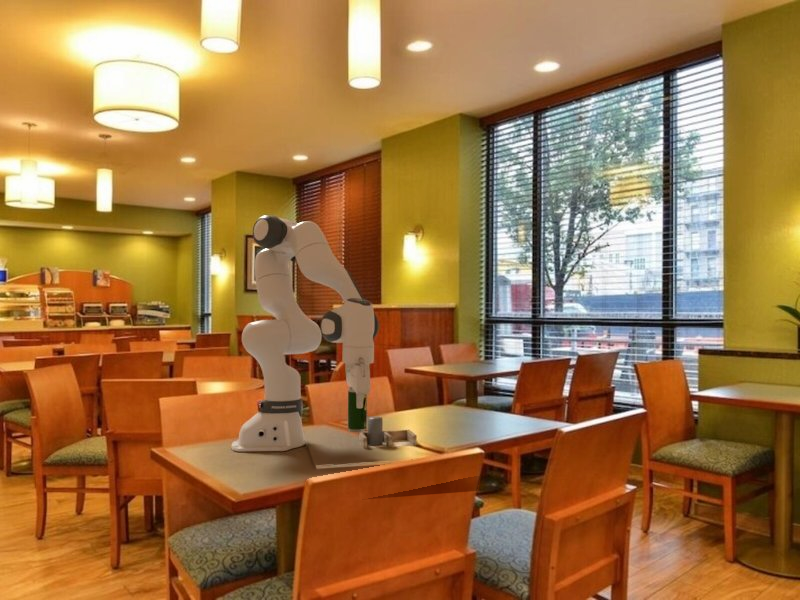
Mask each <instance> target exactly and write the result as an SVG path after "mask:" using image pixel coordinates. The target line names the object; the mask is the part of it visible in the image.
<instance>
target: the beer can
mask: <svg viewBox="0 0 800 600" xmlns="http://www.w3.org/2000/svg"><path fill="white" fill-rule="evenodd" d="M367 418H368V394H364V401H363V408H357V407H356V392H355V391H354V390H353V389H352V388H351V387H350V386H348V390H347V430H348V431H349V432H352V433H359V432H367V431H366V430H367Z"/></svg>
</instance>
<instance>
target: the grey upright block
mask: <svg viewBox="0 0 800 600" xmlns="http://www.w3.org/2000/svg"><path fill="white" fill-rule="evenodd" d="M383 420H384V419H383V417H382V416H369V417H368V416H367V428H366V430H367V431H366V432H367V445H370V446H380V445H382V444H383V431H384V430H383V429H384V428H383V424H384V423H383V422H384V421H383Z"/></svg>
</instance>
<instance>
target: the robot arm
mask: <svg viewBox="0 0 800 600" xmlns="http://www.w3.org/2000/svg"><path fill="white" fill-rule="evenodd" d="M252 238H253V241H254V243H256V245H258V246H259V247H261V248H263V249H262V250H260V251H259V252H258V253H257V254H256V256H255V257H254V258H255V259H254V260H255V261H254V273H255V275H254V277H255V284H256V286H255V287H256V292H257V298H258V303H259V305H260V308H262V309H263V310H264V311H265V312H267V313H269V314H270V315H272V316H273V317H274V318H275V319H260V320H256V321H252V322H248V323H247V324H246V325H245V327H244V328H243V331H242V333H241V343H242V346H243V348H244V349H245V351H246V352H247V353H248V354H249V355H251V356H252V357H253V358H254V359H255V361H256V362H257V363H258V365H259V366H260V369H261V371H262V374H263V383H264V399H257V401H256V405H257V413H255V414H254V415H252V417H250V419H248V420H247V421H245V422H244V423H243V424H242V426H241V427H240V430H239V433H238V439H236V440H234V441H233V442H232V443H231V447H230V448H231V449H232V451H234V452H284V451H285V452H286V451H288V450H292V449H296V448H300V447H303V446H304V445H306V444H307V443H306V438H305V435H304V434H305V433H304V431H303V430H304V427H303V423H302V422H303V421H302V417H303V398H302V397H301V395H302V394H301V393H302V392H301V390H302V388H301V387H302V386H301V385H302V384H301V381H302V380H301V379H302V377H301V374H300V373H299V371H298V370H297V369H295V368H294V367H292V366H291V365H288V364H287V362H286V360H285V355H301V354H302V355H303V354H307V353H310V352H314V351H316V350H318V348H319V347H320V345H321V342H322V337H323V338H324V340H325V341H327V342H329V343H332V344H333V343H334V344H335V343H336V344H339V343H342V356H341V357H342V359H341V360H342V361H341V362H342V363H343V364H344V367H345V368H344V369H345V379H346V384H347V386H348V387H351V388H352V389H353V390H354V391H355V392H356V407H357V408H363V401H364V394H367V395H369V394H370V392H371V371H370V364H374V363H375V342H374V339H375V338H376V337H377V335H378V333H379V331H380V321H379V318H378V316H377V314H376V313H375V312H374V306H373V303H372V302H371V301H369V300H367V299H365V297H364V296H363V294H362V292H361V291H360V288H359V287H358V285H357V283H356V281H355V280H354V278H353V276H352V275H351V272H349V271H348V269H346V267H345V266H343V265H342V264H341V263H340V261H339V260H338V259H337V257H336V256H335V254H334V253H333V251H332V249H331V247H330V245H329V241H328V240H327V237H326V235H325V234H324V233H323V231H322V229H321V228H320V226H319V225H318V224H317V223H316V222H313V221H310V220H306V221H301V222H299V223H298V222H296V221H294V220H291V219H287V218H281V217H278V216H275V215H270V214H269V215H266V214H265V215H262V216H260V217H258V219H257V220H256V221H255V223H254V224H253V227H252ZM290 262H292V263H293V262H294V263H295V262H296V263H297V265H298V269H299V270H300V272H301V274H302V275H303V276H304V277H305V279H308V280H309V281H311V282H314V283H317V284H320V285H323V286H326V287H329V288H330V289H332V290H333V291H335V292H336V293H338V294H339V295H340V297H341V298H342V300H343V302H344V303H343V304H342V305H340V306H338V307H337V308H334V309H331V310H328V311H326V312H325V313H324V314H323V315H322V317H321V320H320V326H319V324H317V322H315V321H313V320H312V319H311V318H310V317H308V316H307V315H306V314H305V313H304V312H303V310H302V309H301V308H300V306H299V304H298V301H296V297H295V294H294V289H293V286H292V285H293V284H292V280H291V276H290V275H291V273H290V269H289V265H290V264H289V263H290Z"/></svg>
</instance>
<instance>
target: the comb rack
mask: <svg viewBox="0 0 800 600" xmlns="http://www.w3.org/2000/svg"><path fill="white" fill-rule="evenodd" d="M417 437H418V435H417V434H416V433H414V432H413V431H412V430H410V429H401V430H400V429H397V430H396V429H394V430H383V444H382V445H380V446H370V445H367V431H363V432H358V443H359V445H360V446H361V447H362V448H363V449H379V448H397V447H413V446H417V441H418V440H417Z"/></svg>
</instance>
